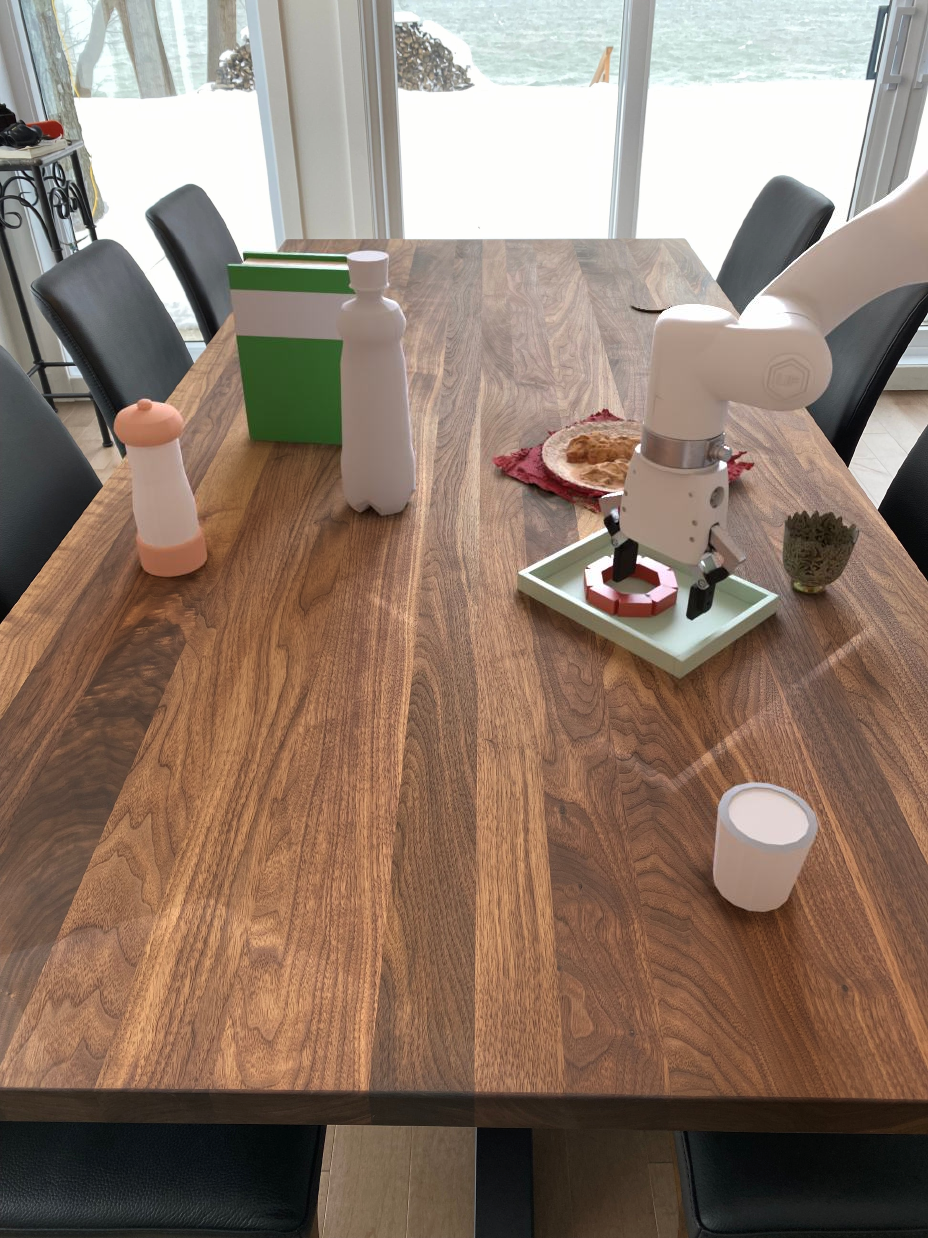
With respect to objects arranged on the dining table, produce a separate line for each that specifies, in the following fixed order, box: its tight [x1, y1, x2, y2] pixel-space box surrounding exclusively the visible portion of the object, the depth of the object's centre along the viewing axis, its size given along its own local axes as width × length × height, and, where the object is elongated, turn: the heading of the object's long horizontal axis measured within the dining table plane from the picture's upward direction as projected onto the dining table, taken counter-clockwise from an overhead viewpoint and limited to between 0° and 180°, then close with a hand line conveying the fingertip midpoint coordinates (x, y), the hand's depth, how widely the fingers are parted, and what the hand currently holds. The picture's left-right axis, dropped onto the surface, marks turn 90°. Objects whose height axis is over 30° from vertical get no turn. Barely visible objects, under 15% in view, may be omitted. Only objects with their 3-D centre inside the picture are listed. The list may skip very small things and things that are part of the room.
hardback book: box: [226, 250, 357, 446], centre depth 134 cm, size 18×7×24 cm, turn 83°
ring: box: [583, 555, 678, 618], centre depth 104 cm, size 10×10×2 cm
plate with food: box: [491, 408, 755, 514], centre depth 129 cm, size 24×26×4 cm
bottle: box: [335, 250, 417, 517], centre depth 114 cm, size 9×9×30 cm
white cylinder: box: [712, 781, 819, 913], centre depth 71 cm, size 7×7×7 cm
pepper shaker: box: [113, 398, 208, 578], centre depth 106 cm, size 7×7×19 cm
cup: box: [781, 509, 860, 597], centre depth 104 cm, size 8×7×8 cm
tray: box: [516, 527, 780, 679], centre depth 103 cm, size 22×17×2 cm
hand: (659, 595), depth 102 cm, fingers open, 9 cm apart
